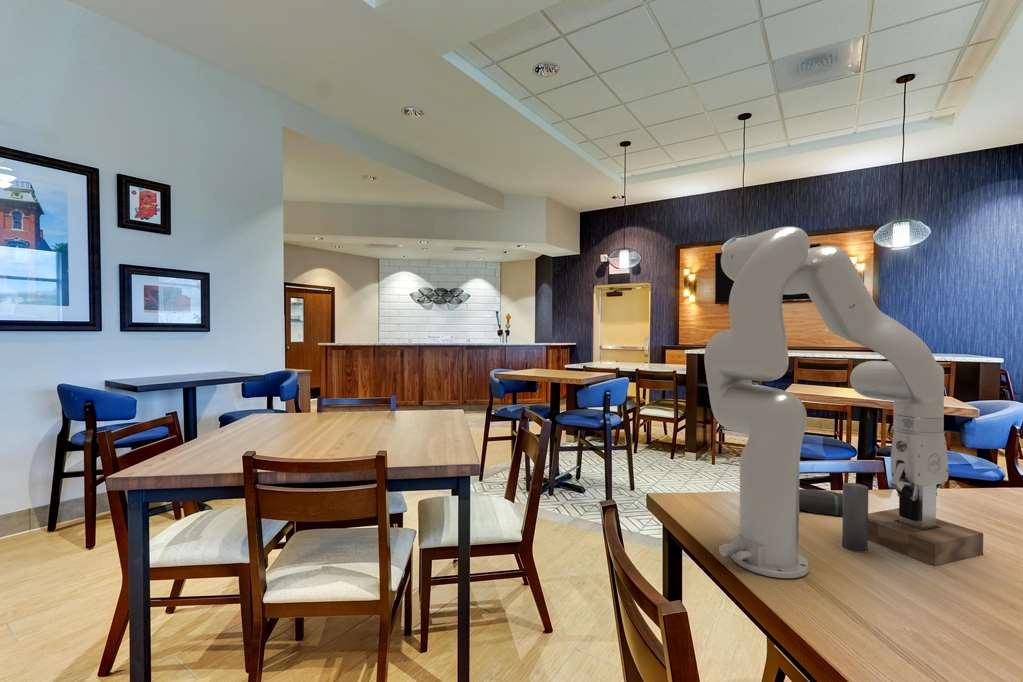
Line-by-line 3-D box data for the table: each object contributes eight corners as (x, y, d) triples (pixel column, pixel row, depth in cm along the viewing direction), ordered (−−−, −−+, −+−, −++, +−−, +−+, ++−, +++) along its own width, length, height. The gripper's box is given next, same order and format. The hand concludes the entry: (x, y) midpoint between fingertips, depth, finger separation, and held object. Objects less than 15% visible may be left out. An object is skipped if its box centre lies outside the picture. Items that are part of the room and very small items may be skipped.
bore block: (935, 566, 85) (935, 543, 85) (855, 534, 98) (855, 515, 98) (983, 554, 90) (983, 533, 90) (901, 525, 103) (901, 507, 103)
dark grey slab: (862, 538, 98) (753, 523, 105) (840, 508, 115) (747, 497, 123) (862, 512, 97) (753, 499, 105) (840, 486, 115) (748, 476, 123)
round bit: (858, 553, 90) (858, 490, 90) (837, 544, 94) (838, 484, 94) (872, 550, 91) (873, 488, 91) (851, 541, 95) (852, 481, 95)
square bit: (922, 541, 91) (922, 478, 91) (899, 532, 95) (899, 473, 95) (935, 538, 93) (936, 476, 93) (912, 530, 96) (913, 471, 96)
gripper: (911, 431, 87) (910, 530, 88) (967, 425, 93) (966, 518, 93) (868, 423, 94) (867, 515, 95) (923, 418, 100) (922, 505, 100)
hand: (917, 516), depth 94 cm, fingers closed on square bit, 4 cm apart
